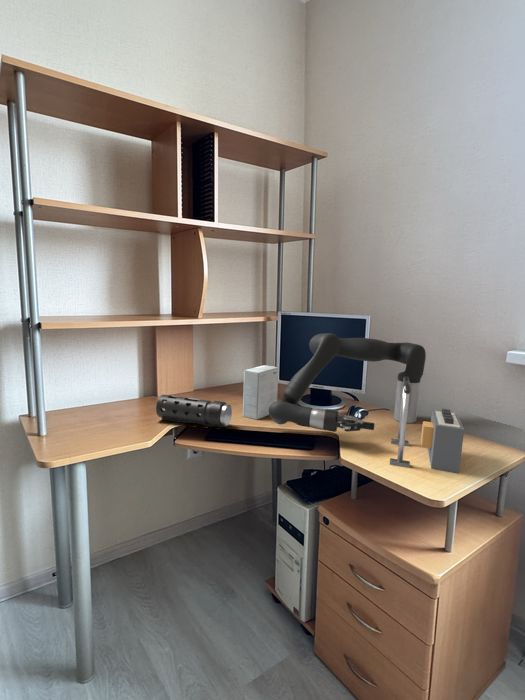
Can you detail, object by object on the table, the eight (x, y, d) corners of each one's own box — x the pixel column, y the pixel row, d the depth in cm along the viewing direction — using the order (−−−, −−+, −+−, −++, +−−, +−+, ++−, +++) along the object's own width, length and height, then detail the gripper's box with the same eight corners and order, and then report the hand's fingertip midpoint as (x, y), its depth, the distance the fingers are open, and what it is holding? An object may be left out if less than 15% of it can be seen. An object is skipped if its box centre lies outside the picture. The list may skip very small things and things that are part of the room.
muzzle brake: (167, 416, 173) (168, 391, 172) (232, 425, 166) (233, 400, 164) (155, 423, 164) (155, 396, 163) (222, 433, 156) (223, 406, 155)
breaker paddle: (420, 440, 145) (423, 421, 144) (436, 443, 144) (438, 423, 143) (421, 446, 140) (423, 426, 139) (438, 449, 138) (440, 428, 137)
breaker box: (427, 448, 151) (432, 405, 149) (452, 452, 149) (457, 408, 146) (431, 468, 134) (436, 419, 132) (458, 473, 132) (465, 423, 129)
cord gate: (391, 441, 157) (397, 374, 153) (408, 443, 155) (415, 376, 151) (389, 464, 136) (397, 387, 132) (409, 467, 134) (417, 389, 130)
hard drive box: (262, 408, 190) (265, 364, 187) (277, 412, 186) (279, 367, 183) (241, 416, 178) (243, 369, 175) (256, 420, 173) (259, 372, 170)
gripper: (321, 414, 145) (374, 421, 140) (328, 404, 157) (376, 411, 152) (320, 435, 146) (372, 443, 141) (326, 424, 159) (374, 431, 153)
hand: (374, 426), depth 147 cm, fingers closed
